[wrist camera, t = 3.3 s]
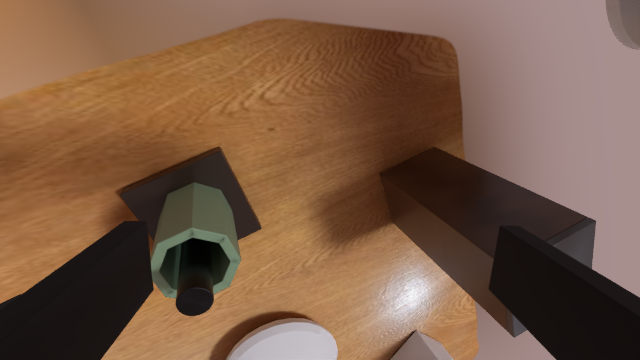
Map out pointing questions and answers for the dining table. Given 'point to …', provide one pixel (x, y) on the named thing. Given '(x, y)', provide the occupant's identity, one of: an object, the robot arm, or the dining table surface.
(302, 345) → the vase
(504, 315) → the stand
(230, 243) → the green octagonal tube
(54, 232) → the dining table surface
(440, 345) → the milk carton
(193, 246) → the peg stand
